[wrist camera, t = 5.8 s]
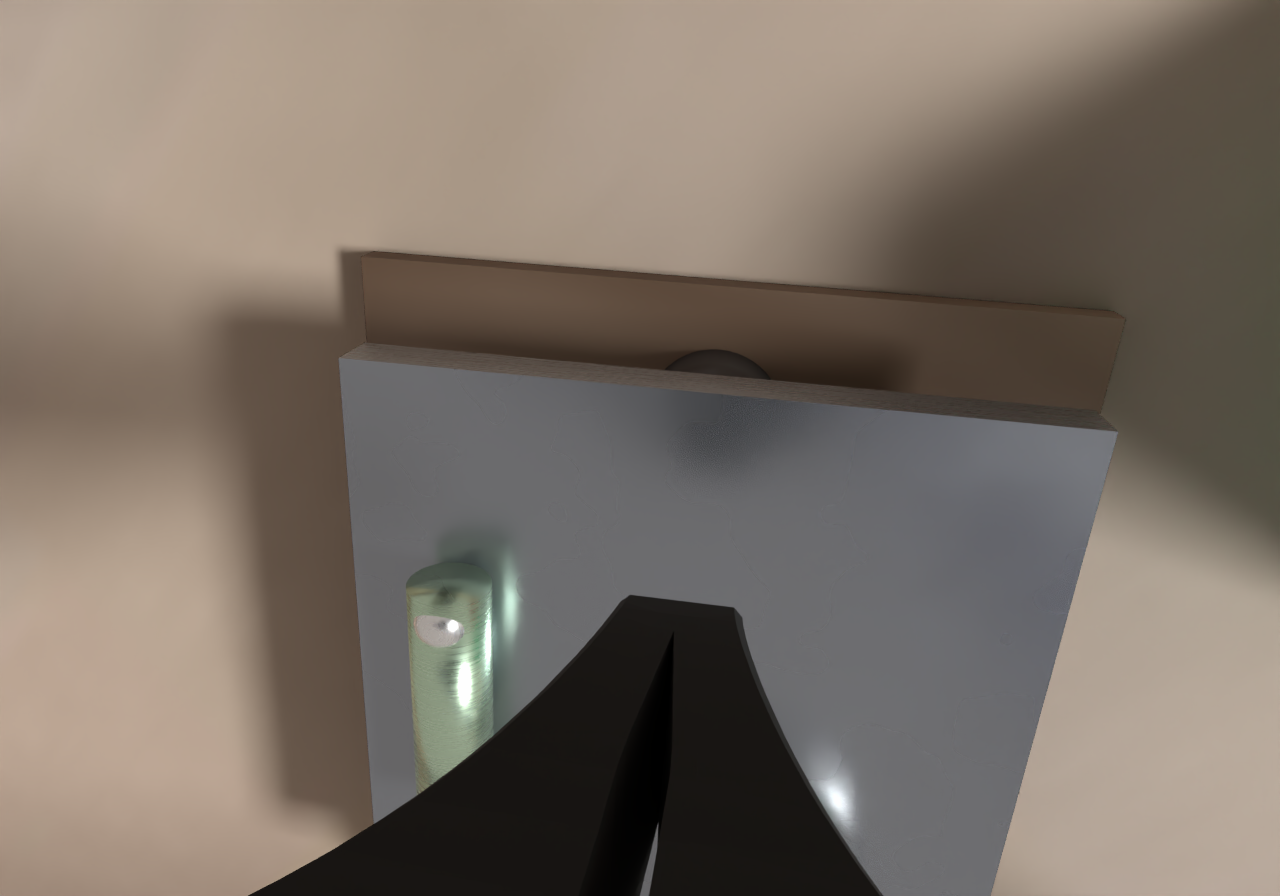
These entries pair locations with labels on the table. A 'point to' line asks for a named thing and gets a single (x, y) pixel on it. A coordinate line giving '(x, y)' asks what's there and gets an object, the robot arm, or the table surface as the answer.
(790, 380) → the stand base
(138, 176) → the table surface
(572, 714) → the robot arm
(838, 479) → the level plate
